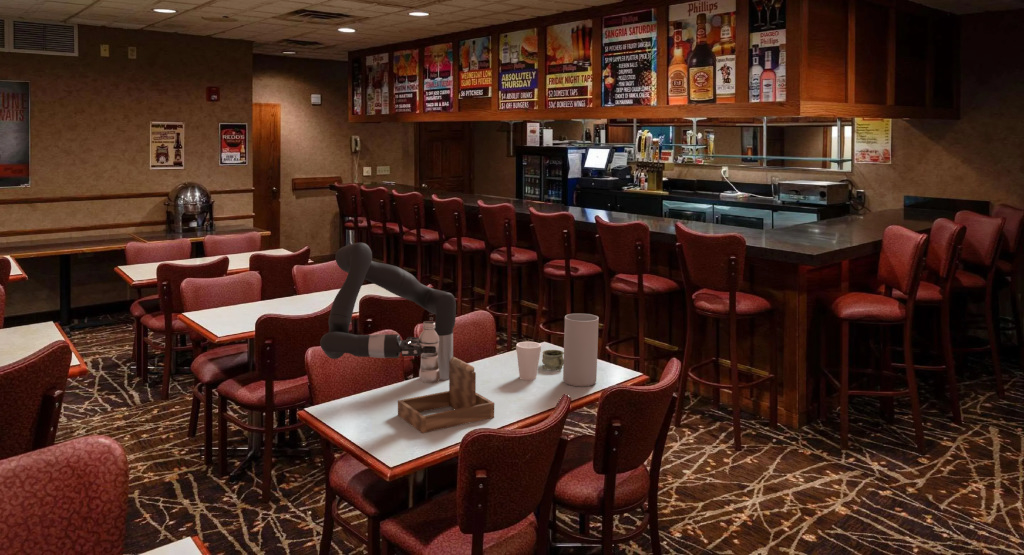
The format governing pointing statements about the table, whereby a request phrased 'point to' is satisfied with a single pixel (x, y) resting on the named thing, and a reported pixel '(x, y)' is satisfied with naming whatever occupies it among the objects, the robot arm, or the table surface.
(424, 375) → the plastic bottle
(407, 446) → the table surface
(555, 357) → the vessel
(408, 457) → the table surface
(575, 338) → the cylinder vase
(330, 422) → the table surface
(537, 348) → the foam cup
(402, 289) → the robot arm
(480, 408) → the wooden box
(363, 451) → the table surface
